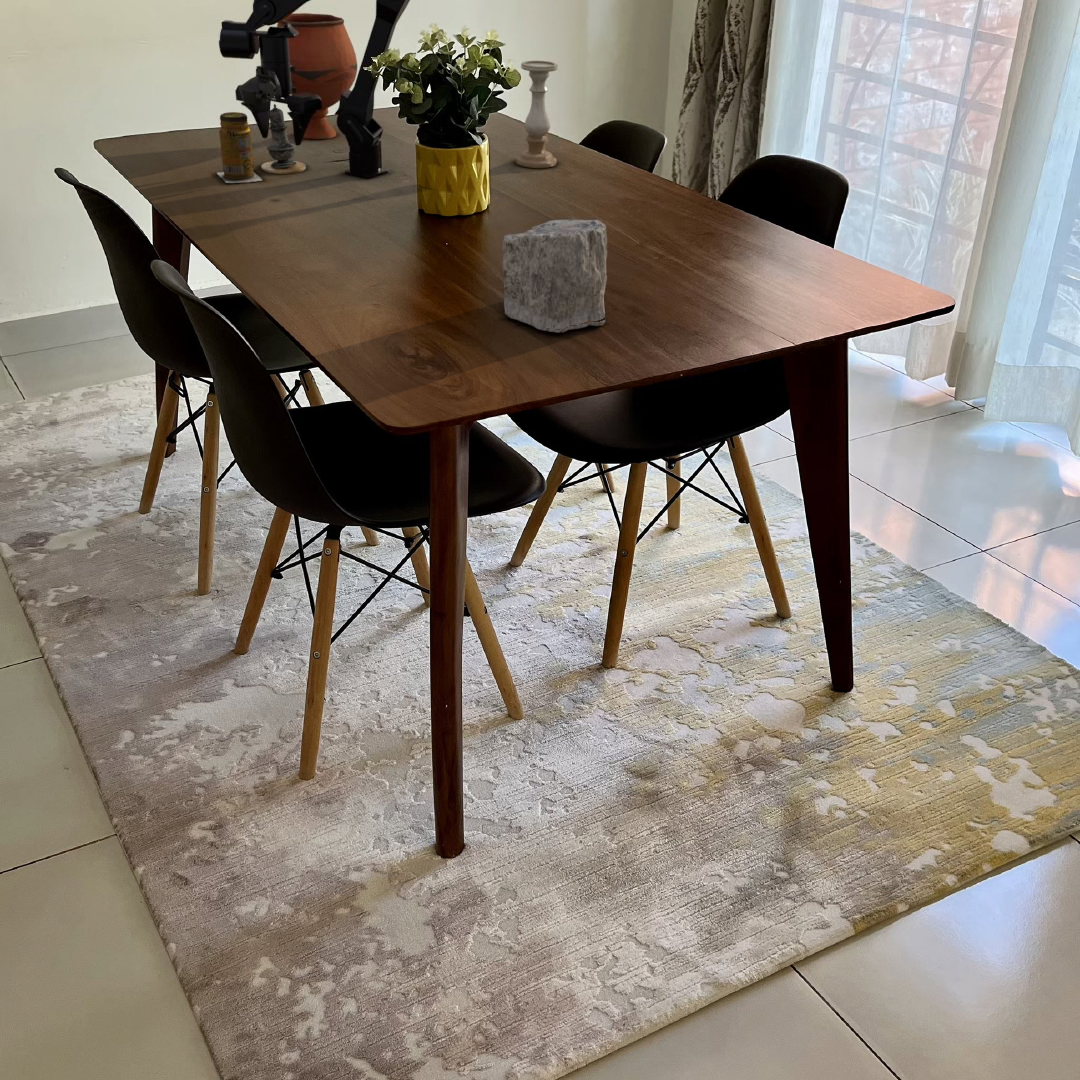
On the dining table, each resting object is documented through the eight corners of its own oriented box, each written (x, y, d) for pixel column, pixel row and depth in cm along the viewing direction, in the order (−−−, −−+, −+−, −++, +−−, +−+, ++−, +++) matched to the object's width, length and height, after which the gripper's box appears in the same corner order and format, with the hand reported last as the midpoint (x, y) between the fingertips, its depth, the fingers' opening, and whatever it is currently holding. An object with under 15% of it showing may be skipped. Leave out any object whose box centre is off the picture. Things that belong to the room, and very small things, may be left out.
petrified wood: (539, 283, 191) (543, 189, 183) (636, 305, 184) (644, 209, 176) (476, 318, 177) (476, 218, 169) (577, 343, 170) (583, 240, 162)
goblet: (353, 146, 263) (348, 25, 250) (266, 143, 263) (256, 21, 250) (365, 127, 279) (361, 12, 266) (283, 124, 279) (275, 8, 266)
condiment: (252, 170, 243) (246, 109, 237) (262, 181, 236) (257, 118, 230) (216, 173, 240) (209, 112, 234) (226, 184, 234) (219, 121, 227)
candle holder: (531, 156, 261) (534, 58, 250) (564, 163, 257) (568, 63, 246) (507, 163, 255) (509, 63, 244) (540, 171, 251) (544, 69, 240)
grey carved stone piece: (271, 162, 247) (261, 102, 241) (299, 160, 248) (290, 100, 242) (267, 168, 242) (258, 107, 236) (296, 166, 243) (287, 105, 237)
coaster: (283, 160, 251) (282, 157, 251) (314, 167, 247) (314, 165, 246) (252, 168, 244) (251, 166, 244) (284, 176, 240) (284, 173, 240)
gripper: (211, 59, 233) (219, 141, 241) (280, 72, 225) (287, 156, 233) (252, 52, 241) (259, 131, 249) (321, 64, 233) (325, 146, 241)
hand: (281, 141), depth 243 cm, fingers open, 9 cm apart
